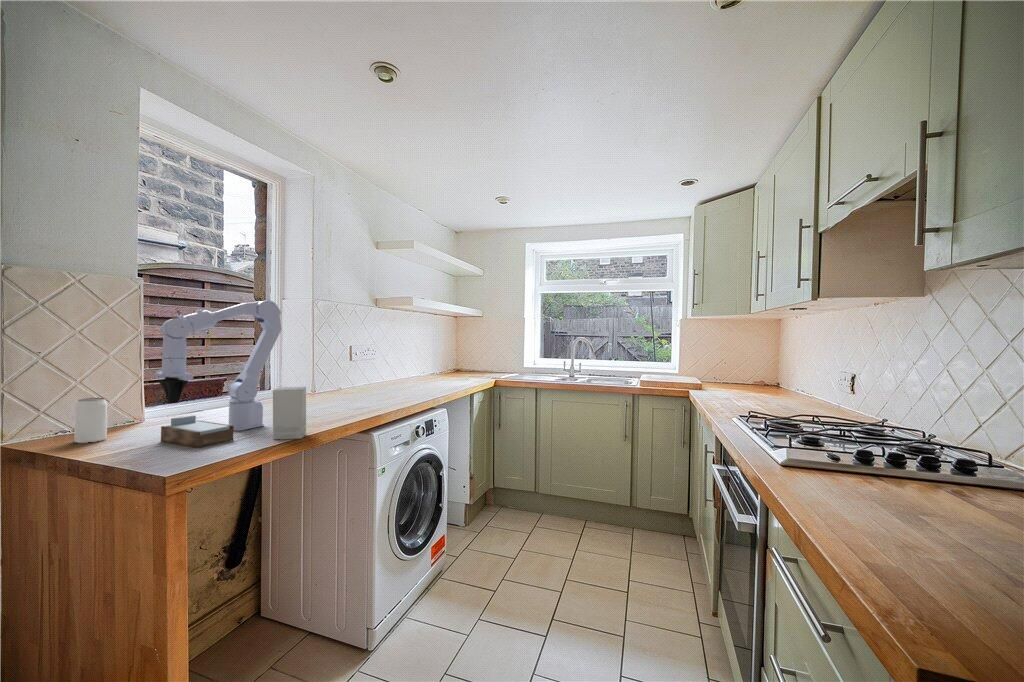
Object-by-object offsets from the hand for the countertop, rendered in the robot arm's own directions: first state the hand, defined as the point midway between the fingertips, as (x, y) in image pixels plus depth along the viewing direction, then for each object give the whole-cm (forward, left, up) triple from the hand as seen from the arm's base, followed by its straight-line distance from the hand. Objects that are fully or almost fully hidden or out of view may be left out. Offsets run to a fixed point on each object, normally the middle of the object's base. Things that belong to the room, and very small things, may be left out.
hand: (173, 402), depth 125 cm
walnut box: (0, +12, -10) cm, 15 cm away
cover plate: (0, +12, -7) cm, 13 cm away
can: (+13, -13, -10) cm, 21 cm away
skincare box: (-15, +31, -10) cm, 36 cm away
